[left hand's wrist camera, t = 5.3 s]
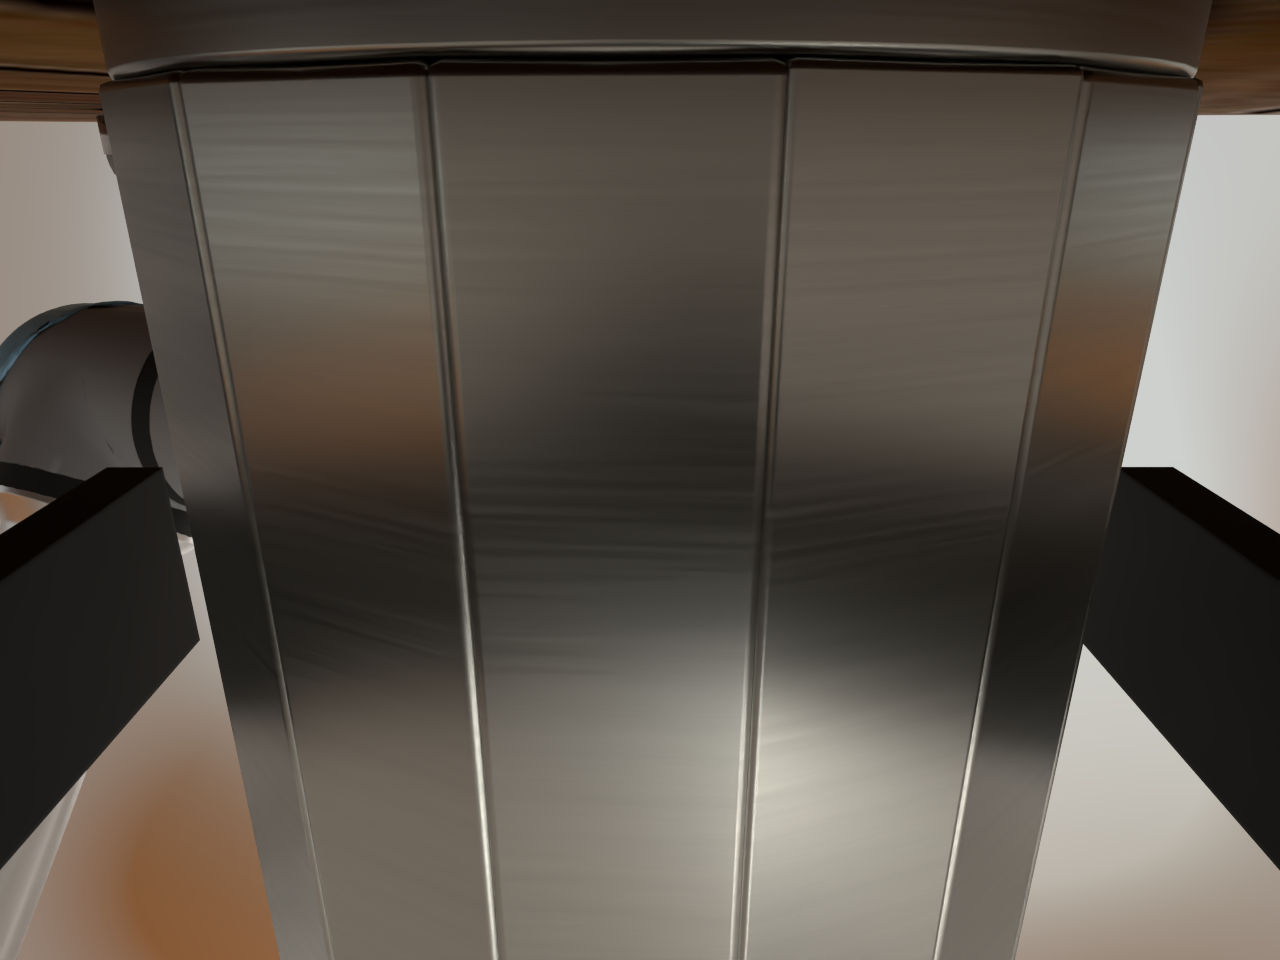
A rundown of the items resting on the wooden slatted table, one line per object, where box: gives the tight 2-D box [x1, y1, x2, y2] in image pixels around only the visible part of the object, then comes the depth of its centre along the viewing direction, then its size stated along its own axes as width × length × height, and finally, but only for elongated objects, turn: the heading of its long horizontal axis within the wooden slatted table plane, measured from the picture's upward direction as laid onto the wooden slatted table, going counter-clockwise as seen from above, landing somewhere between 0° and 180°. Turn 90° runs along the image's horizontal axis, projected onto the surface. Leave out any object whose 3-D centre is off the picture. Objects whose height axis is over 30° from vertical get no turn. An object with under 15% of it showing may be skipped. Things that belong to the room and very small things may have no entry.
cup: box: [93, 0, 1212, 960], centre depth 9 cm, size 8×8×10 cm
